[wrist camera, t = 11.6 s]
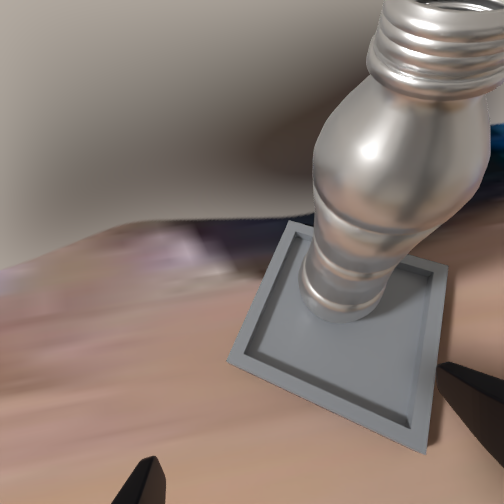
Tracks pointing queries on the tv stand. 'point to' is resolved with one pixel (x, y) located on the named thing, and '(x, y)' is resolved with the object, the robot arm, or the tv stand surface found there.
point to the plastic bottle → (401, 148)
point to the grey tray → (350, 345)
